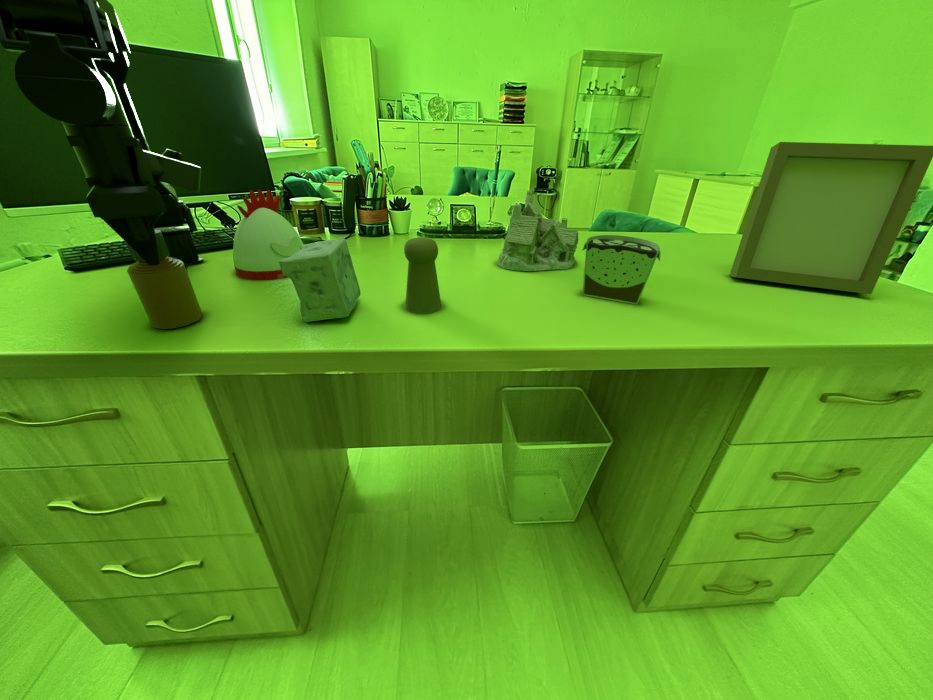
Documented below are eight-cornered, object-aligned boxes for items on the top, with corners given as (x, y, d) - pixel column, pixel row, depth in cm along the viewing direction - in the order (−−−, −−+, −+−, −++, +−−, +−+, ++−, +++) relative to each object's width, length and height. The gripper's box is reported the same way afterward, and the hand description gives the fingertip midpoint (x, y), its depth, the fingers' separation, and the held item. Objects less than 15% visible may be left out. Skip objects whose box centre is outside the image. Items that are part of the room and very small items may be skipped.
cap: (132, 255, 49) (121, 231, 48) (168, 250, 52) (159, 227, 50) (134, 263, 47) (122, 238, 45) (171, 258, 49) (162, 233, 47)
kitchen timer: (324, 266, 78) (311, 189, 70) (263, 284, 68) (239, 197, 60) (284, 255, 84) (267, 184, 77) (222, 270, 74) (196, 190, 67)
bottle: (189, 306, 58) (159, 228, 52) (211, 317, 55) (181, 235, 49) (143, 321, 53) (103, 237, 47) (164, 333, 51) (125, 246, 44)
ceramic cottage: (487, 263, 81) (497, 190, 74) (521, 251, 93) (532, 187, 86) (552, 283, 74) (570, 205, 67) (580, 266, 86) (598, 199, 79)
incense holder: (313, 299, 63) (300, 237, 57) (362, 299, 63) (354, 237, 58) (292, 324, 54) (275, 254, 49) (349, 324, 54) (338, 254, 49)
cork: (447, 302, 63) (446, 236, 57) (432, 316, 58) (430, 245, 52) (415, 297, 64) (411, 232, 59) (398, 310, 59) (393, 241, 54)
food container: (647, 294, 68) (663, 239, 63) (646, 306, 63) (663, 247, 58) (580, 283, 72) (589, 231, 67) (574, 293, 67) (584, 238, 62)
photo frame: (868, 299, 68) (962, 146, 56) (733, 281, 75) (790, 141, 63) (833, 275, 80) (905, 145, 68) (720, 262, 87) (766, 141, 75)
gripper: (194, 128, 40) (235, 268, 48) (174, 127, 52) (210, 238, 60) (50, 124, 34) (125, 285, 42) (66, 124, 46) (122, 248, 54)
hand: (153, 260), depth 50 cm, fingers closed on cap, 4 cm apart
